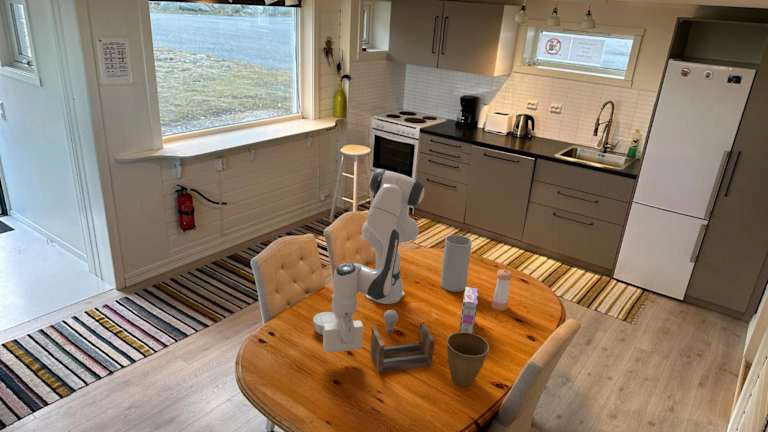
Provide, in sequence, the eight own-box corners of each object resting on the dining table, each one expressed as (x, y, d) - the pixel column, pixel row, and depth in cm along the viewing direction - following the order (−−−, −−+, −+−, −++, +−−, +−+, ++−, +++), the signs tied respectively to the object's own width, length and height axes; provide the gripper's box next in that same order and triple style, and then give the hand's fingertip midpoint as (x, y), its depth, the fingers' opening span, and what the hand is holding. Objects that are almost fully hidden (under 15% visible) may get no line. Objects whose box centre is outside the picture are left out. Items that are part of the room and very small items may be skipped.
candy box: (472, 338, 223) (477, 303, 217) (458, 335, 224) (463, 301, 218) (474, 320, 236) (478, 287, 230) (460, 318, 237) (465, 285, 231)
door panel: (323, 346, 200) (323, 323, 197) (359, 342, 204) (360, 320, 200) (324, 353, 197) (325, 330, 193) (361, 348, 201) (363, 326, 197)
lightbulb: (386, 339, 218) (388, 315, 214) (379, 331, 223) (381, 308, 219) (399, 336, 221) (401, 312, 217) (392, 328, 226) (394, 305, 222)
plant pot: (455, 397, 187) (460, 359, 182) (435, 372, 200) (439, 335, 194) (491, 388, 193) (497, 351, 188) (469, 364, 206) (474, 328, 200)
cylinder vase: (448, 277, 272) (453, 232, 263) (470, 285, 266) (476, 239, 257) (435, 286, 263) (440, 240, 254) (458, 295, 256) (464, 247, 247)
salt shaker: (506, 303, 252) (512, 266, 245) (508, 311, 245) (514, 274, 238) (490, 301, 252) (496, 265, 245) (492, 309, 246) (497, 272, 239)
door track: (370, 354, 208) (371, 327, 204) (420, 347, 214) (423, 322, 210) (378, 373, 197) (380, 345, 193) (431, 366, 203) (434, 339, 199)
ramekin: (307, 328, 222) (307, 317, 220) (327, 319, 229) (328, 308, 227) (325, 340, 215) (325, 329, 213) (345, 330, 222) (346, 319, 221)
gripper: (359, 321, 185) (357, 354, 191) (347, 291, 203) (345, 322, 209) (341, 323, 184) (339, 356, 189) (330, 293, 202) (329, 324, 207)
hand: (342, 338), depth 199 cm, fingers closed on door panel, 4 cm apart
